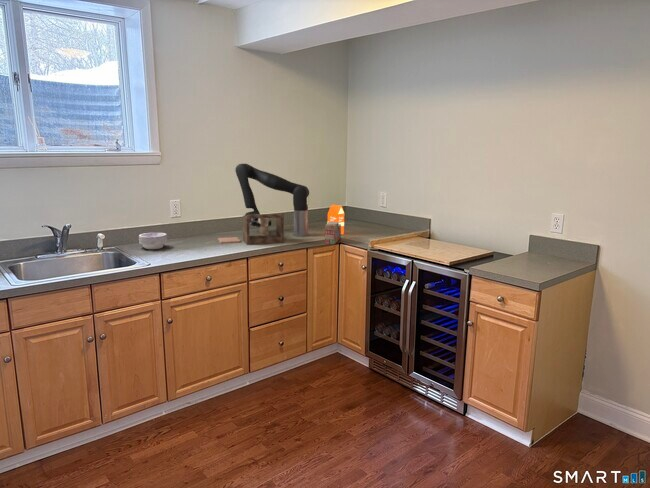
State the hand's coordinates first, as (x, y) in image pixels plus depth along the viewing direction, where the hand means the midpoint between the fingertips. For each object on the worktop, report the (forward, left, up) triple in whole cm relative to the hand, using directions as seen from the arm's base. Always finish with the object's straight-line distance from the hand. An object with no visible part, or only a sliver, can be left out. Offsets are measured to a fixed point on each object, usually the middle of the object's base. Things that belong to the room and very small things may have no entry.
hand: (264, 225), depth 299 cm
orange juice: (-54, -16, -11) cm, 57 cm away
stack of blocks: (-44, +4, -11) cm, 46 cm away
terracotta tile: (+20, -11, -11) cm, 25 cm away
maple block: (0, -3, -6) cm, 7 cm away
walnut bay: (0, -3, -11) cm, 11 cm away
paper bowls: (+65, -2, -11) cm, 66 cm away
